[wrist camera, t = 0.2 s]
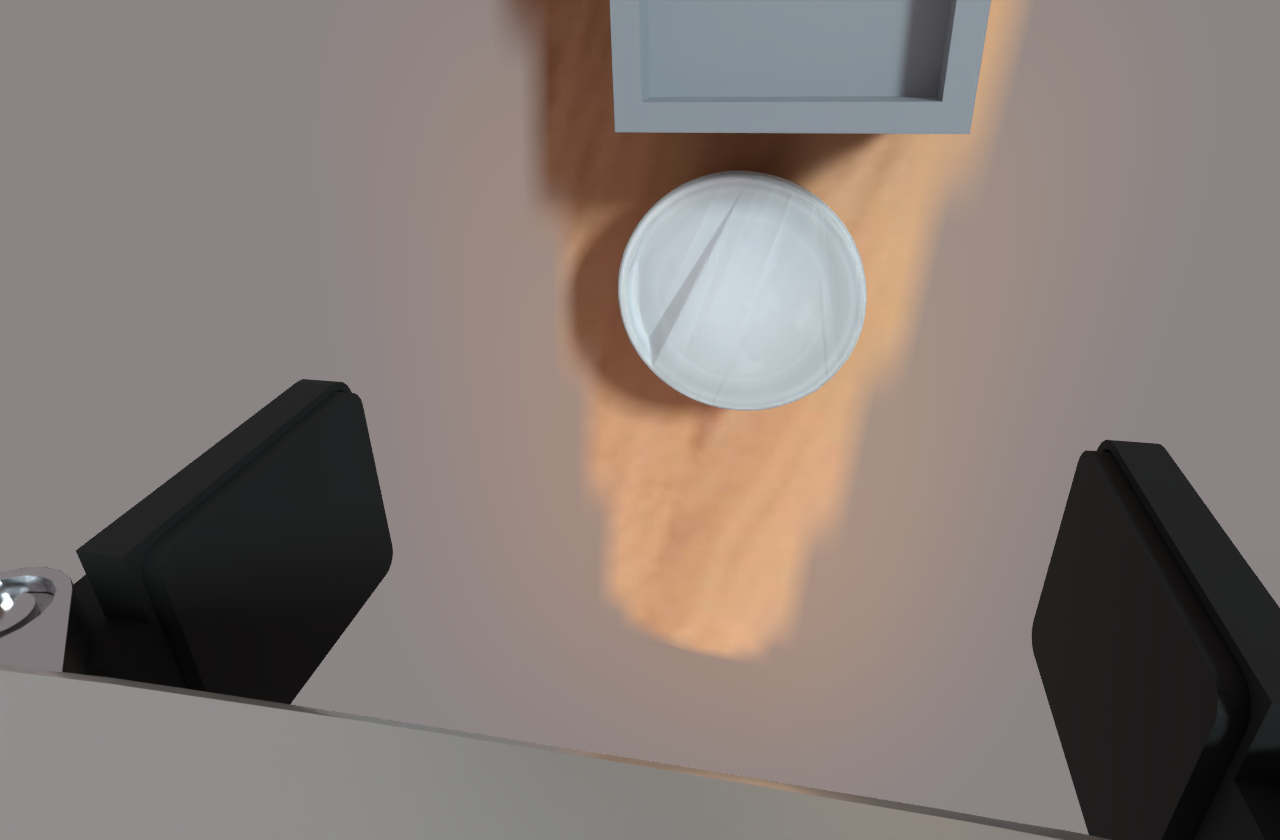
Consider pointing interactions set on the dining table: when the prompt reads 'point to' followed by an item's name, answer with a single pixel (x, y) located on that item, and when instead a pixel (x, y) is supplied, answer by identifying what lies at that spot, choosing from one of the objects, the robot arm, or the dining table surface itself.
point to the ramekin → (742, 290)
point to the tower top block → (796, 65)
